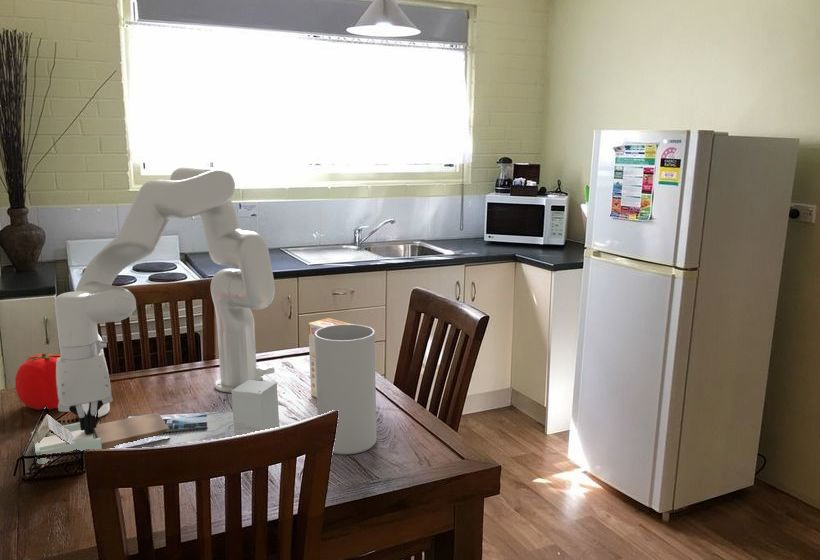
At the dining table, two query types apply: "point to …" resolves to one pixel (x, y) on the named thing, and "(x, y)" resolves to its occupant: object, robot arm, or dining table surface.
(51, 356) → the tomato
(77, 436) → the tile
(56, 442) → the tile
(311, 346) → the coffeecake box
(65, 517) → the dining table surface
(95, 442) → the tray
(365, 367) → the cylinder vase
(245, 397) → the supplement box
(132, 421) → the board
